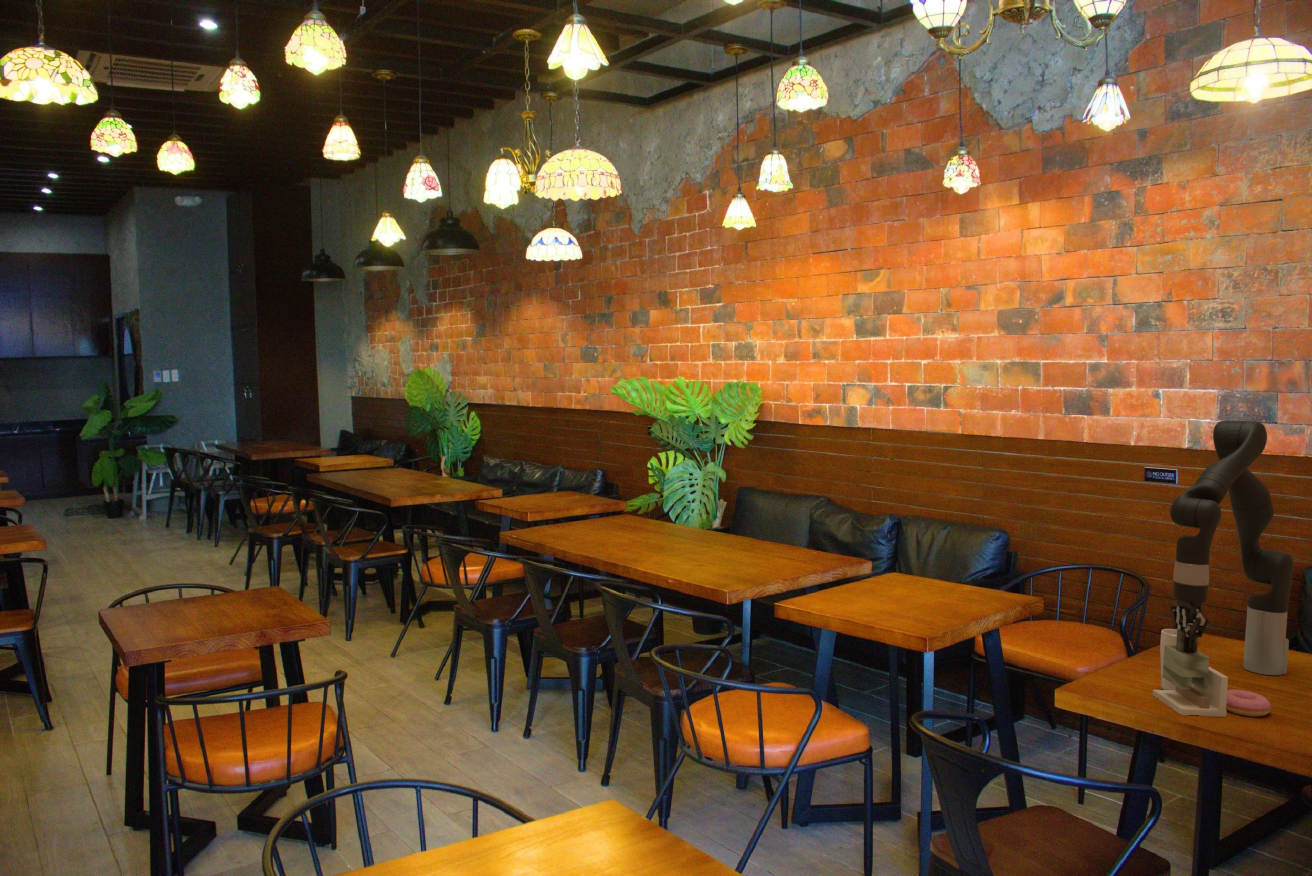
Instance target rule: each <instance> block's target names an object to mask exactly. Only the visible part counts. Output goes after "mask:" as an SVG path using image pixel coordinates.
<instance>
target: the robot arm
mask: <svg viewBox="0 0 1312 876" xmlns="http://www.w3.org/2000/svg"><path fill="white" fill-rule="evenodd" d="M1212 435H1213V436H1212V440H1213V441H1212V442H1213V444H1214V445H1213V446H1214V448H1215V454H1216V456H1217V458H1218V460H1217V461H1215V462H1213V463H1211V464H1210V465H1209V466H1207V467H1206V468H1205V469H1204V470H1203V471H1202V472H1201V473H1200V475H1199V476H1198V478H1197V479H1196V482H1195V483H1194V485H1192V486H1190V487H1189V488H1187V489H1186V490H1185V491H1183V492H1182V493H1181V494H1179V495H1178V496H1177V497H1176V498H1175V499H1174V500H1173V502H1172V503H1171V506H1170V509H1169V516H1170V519H1171V521H1172V522H1173V523H1174V524H1175V525H1176V526H1177V525H1178V526H1179V527H1180V526H1181V527H1187V528H1193V529H1194V528H1196V529H1199V531H1198V533H1197V534H1196V535H1190V536H1181V537H1179V538H1178V539H1177V541H1176V552H1175V553H1176V554H1175V563H1174V568H1173V579H1172V591H1171V592H1172V593H1171V594H1172V595H1171V596H1172V598H1173V599H1174V600H1176V604H1174V605H1173V604H1171V605H1170V606H1169V610H1170V614H1171V619H1172V626H1173V629H1176V630H1185V642H1184V652H1186V653H1194V652H1195V639H1196V638H1198V639H1199V638H1202V637H1203V634H1204V632H1205V630H1206V628H1207V626H1208V623H1209V618H1208V617H1204V616H1203V608H1202V605H1203V604H1204V603H1207V602H1208V599H1209V586H1210V585H1209V584H1210V566H1209V565H1210V555H1211V554H1210V552H1211V545H1212V542H1213V539H1214V536H1215V533H1216V531H1217V528H1218V525H1219V523H1220V522H1221V521H1220V520H1221V518H1222V511H1221V507H1220V504H1221V503H1222V502H1223V500H1224V499H1225V497H1226V496H1227V494H1228V497H1229V501H1230V505H1231V509H1232V513H1233V517H1234V520H1235V526H1236V528H1237V529H1236V530H1237V533H1238V537H1239V539H1238V540H1239V545H1240V546H1239V547H1240V554H1241V563H1242V568H1243V572H1244V575H1245V576H1246V578H1247V579H1248V580H1249V581H1251V582H1255V583H1259V584H1265V585H1271V588H1270V591H1268V592H1266V593H1260V594H1253V595H1250V596H1248V600H1247V609H1246V623H1245V624H1246V626H1245V635H1244V636H1245V637H1244V638H1245V639H1244V650H1243V651H1244V652H1243V663H1242V664H1243V666H1242V667H1243V669H1244V670H1247V671H1248V672H1252V673H1255V674H1259V675H1265V676H1281V675H1287V671H1288V658H1289V646H1290V645H1289V644H1290V640H1289V639H1288V638H1286V637H1287V636H1286V635H1287V625H1288V624H1287V620H1288V610H1289V609H1288V608H1289V602H1290V600H1291V599H1290V597H1291V590H1292V583H1293V582H1292V581H1293V575H1294V560H1293V557H1292V556H1291V554H1289V553H1286V552H1282V551H1276V550H1270V549H1265V548H1262V547H1261V545H1260V537H1261V535H1262V534H1263V532H1264V531H1265V530H1266V528H1267V527H1268V526H1269V524H1270V523H1271V521H1272V519H1273V517H1274V512H1275V511H1274V510H1275V509H1274V506H1273V501H1272V497H1271V493H1270V491H1269V489H1268V487H1267V486H1266V485H1265V484H1264V483H1263V481H1261V480H1260V478H1258V476H1256V475H1255V474H1254V473H1253V472H1252V471H1251V470H1250V469H1249V467H1250V466H1251V465H1252V464H1253V463H1254V462H1255V461H1256V460H1257V459H1258V458H1259V457H1260V456H1261V455H1262V454H1263V452H1264V451H1265V448H1266V445H1267V441H1268V433H1267V430H1266V426H1265V425H1264V423H1262V422H1260V421H1256V420H1236V419H1235V420H1226V419H1225V420H1221V421H1218V422H1217V423H1216V424H1215V425H1214V427H1213V431H1212Z"/></svg>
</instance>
